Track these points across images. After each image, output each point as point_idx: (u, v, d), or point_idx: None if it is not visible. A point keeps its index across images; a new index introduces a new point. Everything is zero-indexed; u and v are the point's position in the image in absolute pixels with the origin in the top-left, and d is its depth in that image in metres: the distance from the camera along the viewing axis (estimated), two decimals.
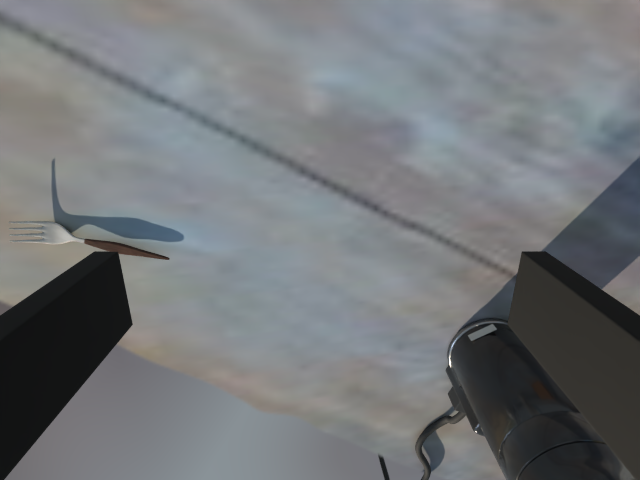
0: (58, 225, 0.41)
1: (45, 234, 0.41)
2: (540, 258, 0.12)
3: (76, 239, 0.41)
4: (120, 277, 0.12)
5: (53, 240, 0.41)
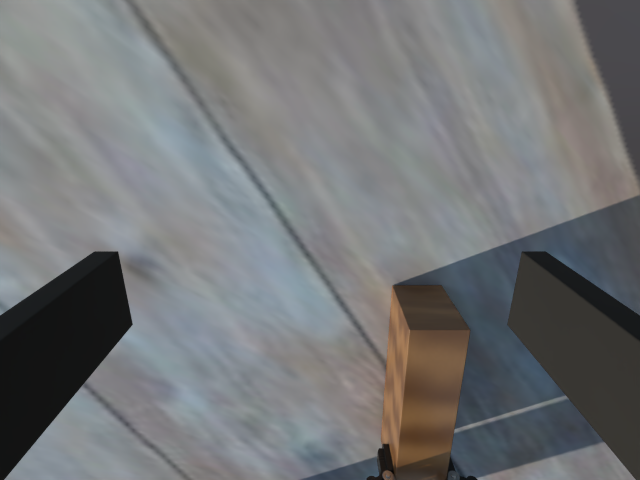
0: None
1: None
2: (540, 258, 0.12)
3: None
4: (120, 277, 0.12)
5: None
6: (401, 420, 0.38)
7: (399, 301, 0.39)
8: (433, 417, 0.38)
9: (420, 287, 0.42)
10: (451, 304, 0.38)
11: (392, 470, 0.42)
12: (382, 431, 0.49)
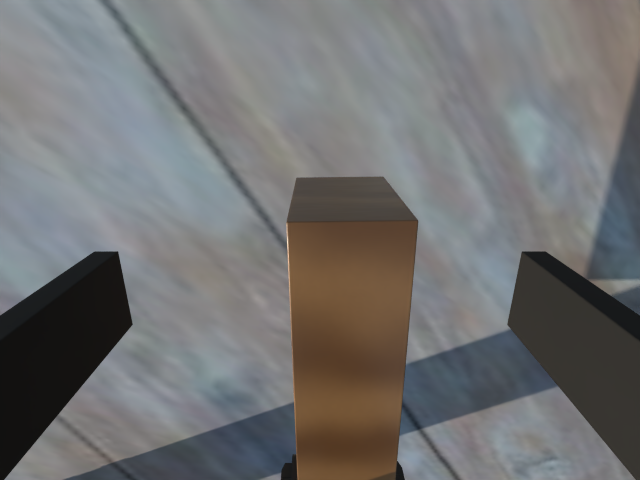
0: None
1: None
2: (540, 258, 0.12)
3: None
4: (120, 277, 0.12)
5: None
6: (296, 416, 0.20)
7: (295, 191, 0.21)
8: (357, 410, 0.19)
9: (344, 178, 0.23)
10: (392, 193, 0.20)
11: None
12: None
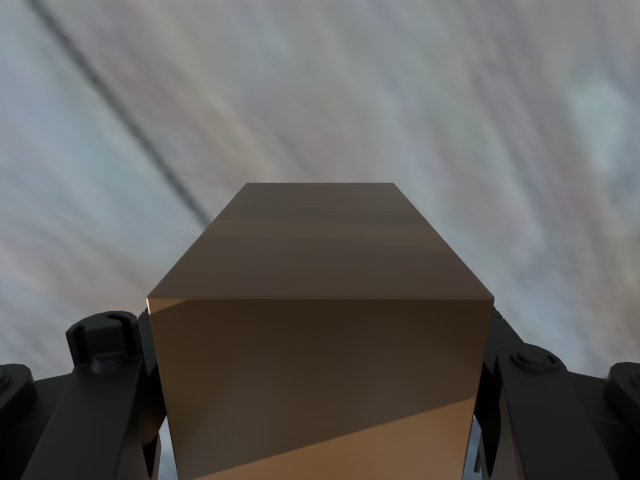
0: None
1: None
2: None
3: None
4: None
5: None
6: None
7: (226, 209, 0.11)
8: None
9: (326, 185, 0.14)
10: (413, 214, 0.10)
11: None
12: None
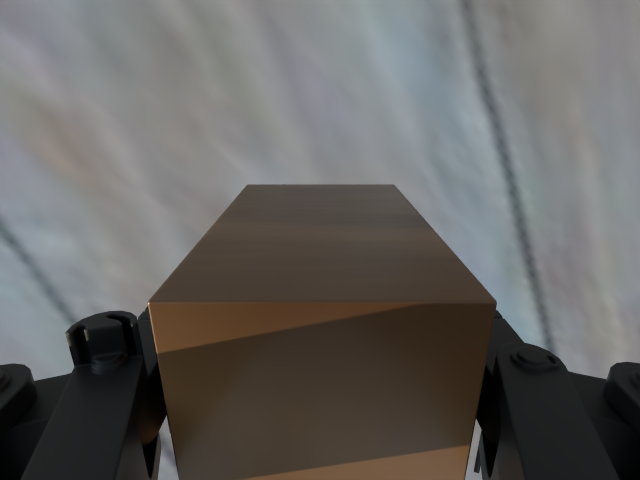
0: None
1: None
2: None
3: None
4: None
5: None
6: None
7: (227, 211, 0.11)
8: None
9: (327, 187, 0.14)
10: (414, 217, 0.10)
11: None
12: None
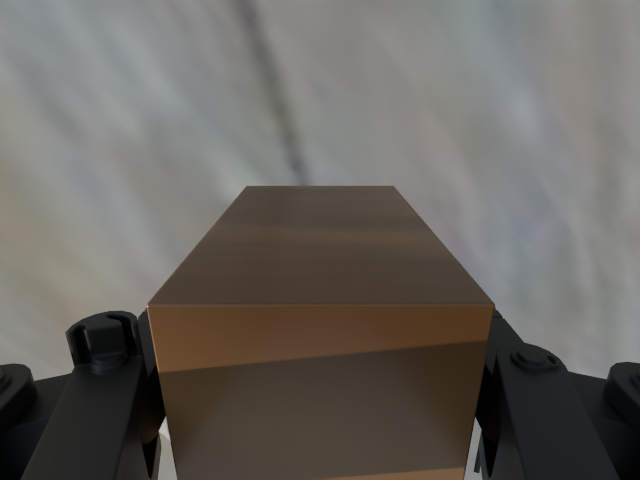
0: None
1: None
2: None
3: (169, 437, 0.32)
4: None
5: None
6: None
7: (226, 213, 0.11)
8: None
9: (326, 188, 0.14)
10: (413, 219, 0.10)
11: None
12: None
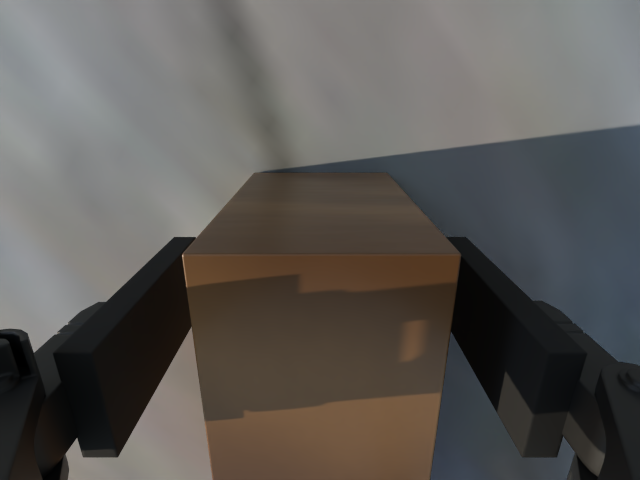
0: None
1: None
2: (458, 242, 0.13)
3: None
4: None
5: None
6: None
7: (238, 193, 0.12)
8: None
9: (326, 175, 0.15)
10: (402, 197, 0.12)
11: None
12: None
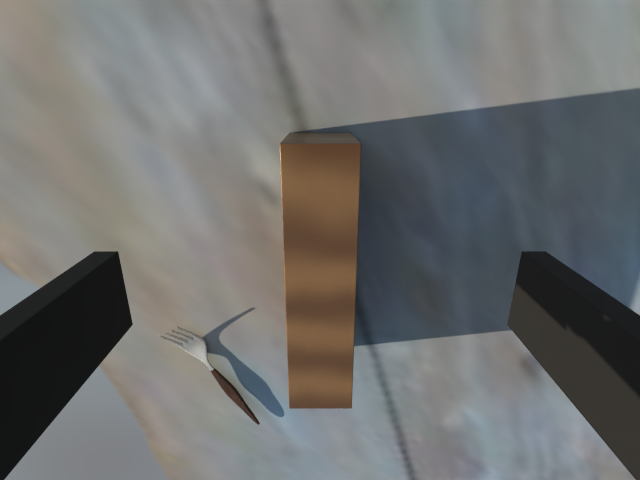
0: (204, 344, 0.41)
1: (187, 342, 0.41)
2: (540, 258, 0.12)
3: (207, 364, 0.42)
4: (120, 277, 0.12)
5: (187, 348, 0.41)
6: (286, 284, 0.29)
7: (287, 136, 0.30)
8: (326, 280, 0.29)
9: (323, 133, 0.33)
10: (352, 137, 0.30)
11: None
12: None
